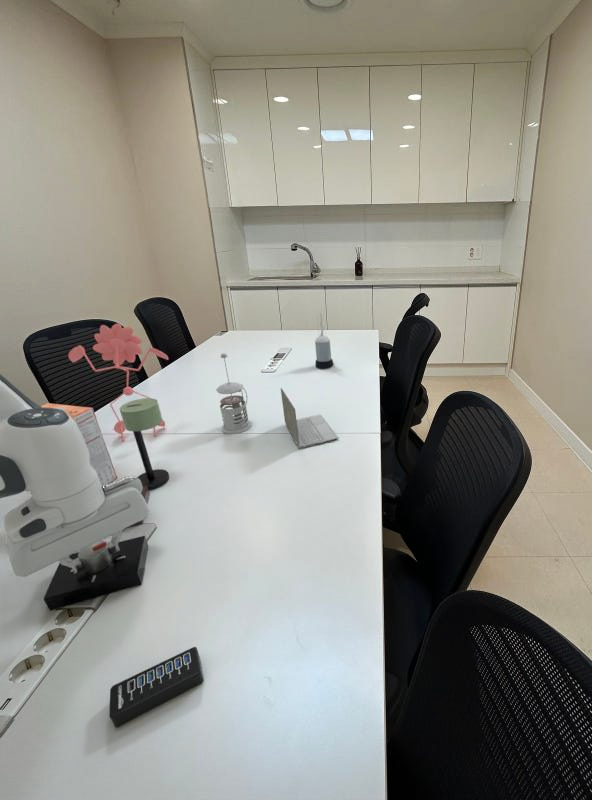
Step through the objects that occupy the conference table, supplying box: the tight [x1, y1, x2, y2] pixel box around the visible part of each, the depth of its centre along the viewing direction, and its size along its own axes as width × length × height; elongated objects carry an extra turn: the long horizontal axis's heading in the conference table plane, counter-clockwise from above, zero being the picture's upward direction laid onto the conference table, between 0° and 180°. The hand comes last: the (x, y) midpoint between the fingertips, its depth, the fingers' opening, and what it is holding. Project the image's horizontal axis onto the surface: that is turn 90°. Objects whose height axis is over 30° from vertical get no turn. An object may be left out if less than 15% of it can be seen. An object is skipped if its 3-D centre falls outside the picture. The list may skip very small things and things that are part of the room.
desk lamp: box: [119, 397, 170, 492], centre depth 96 cm, size 10×8×22 cm
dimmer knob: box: [77, 540, 112, 574], centre depth 70 cm, size 4×4×4 cm
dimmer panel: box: [43, 535, 149, 612], centre depth 72 cm, size 14×10×3 cm
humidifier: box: [314, 311, 335, 370], centre depth 177 cm, size 8×8×25 cm
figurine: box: [68, 323, 177, 442], centre depth 120 cm, size 15×26×35 cm, turn 108°
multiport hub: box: [108, 646, 205, 728], centre depth 54 cm, size 4×11×2 cm, turn 120°
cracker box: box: [40, 402, 118, 486], centre depth 96 cm, size 14×6×21 cm, turn 76°
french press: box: [215, 353, 253, 435], centre depth 123 cm, size 10×12×25 cm
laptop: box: [280, 387, 339, 449], centre depth 120 cm, size 18×12×13 cm
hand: (96, 560), depth 71 cm, fingers closed on dimmer knob, 4 cm apart
